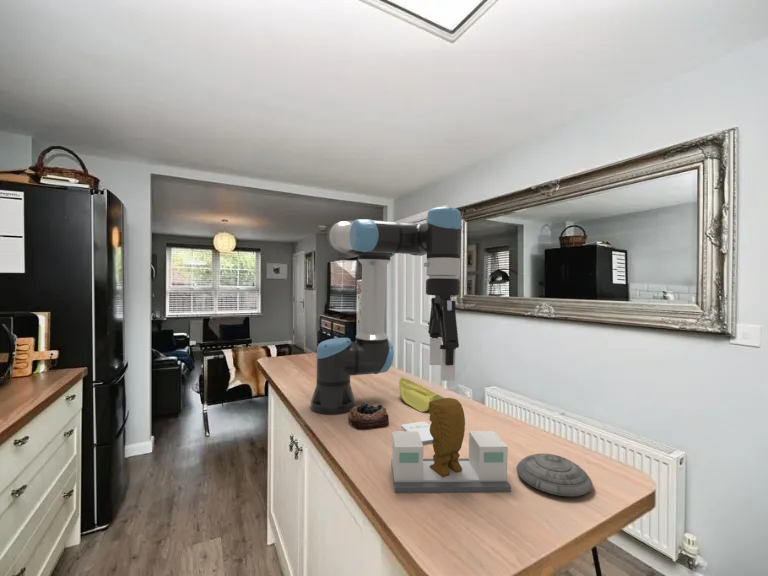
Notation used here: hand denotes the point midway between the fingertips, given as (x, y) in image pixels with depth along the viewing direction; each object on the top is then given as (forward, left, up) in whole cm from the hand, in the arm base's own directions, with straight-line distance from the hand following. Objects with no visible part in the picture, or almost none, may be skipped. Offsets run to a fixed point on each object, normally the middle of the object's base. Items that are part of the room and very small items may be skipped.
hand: (440, 371), depth 79 cm
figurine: (+1, +1, -22) cm, 22 cm away
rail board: (+1, +1, -23) cm, 23 cm away
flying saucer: (+3, +24, -23) cm, 34 cm away
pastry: (-30, -16, -23) cm, 41 cm away
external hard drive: (-21, -1, -24) cm, 32 cm away
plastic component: (-48, +3, -23) cm, 54 cm away
